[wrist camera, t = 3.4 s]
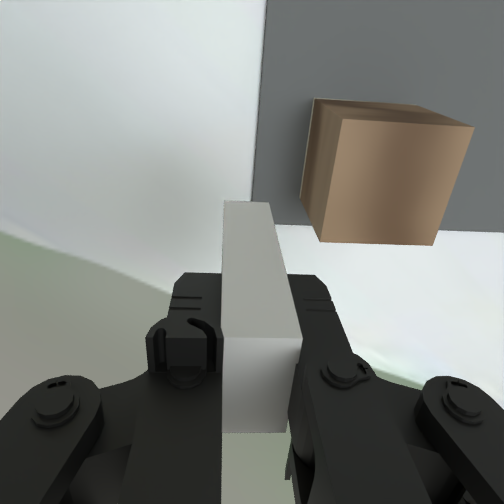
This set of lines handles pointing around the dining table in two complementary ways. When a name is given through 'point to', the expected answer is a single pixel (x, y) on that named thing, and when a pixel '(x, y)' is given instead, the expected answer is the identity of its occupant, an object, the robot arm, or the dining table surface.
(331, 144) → the walnut block
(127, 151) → the dining table surface
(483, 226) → the rubber mat
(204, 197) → the dining table surface
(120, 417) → the robot arm
